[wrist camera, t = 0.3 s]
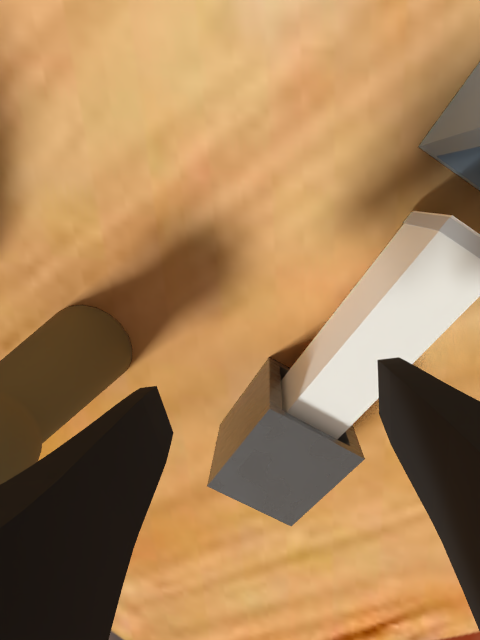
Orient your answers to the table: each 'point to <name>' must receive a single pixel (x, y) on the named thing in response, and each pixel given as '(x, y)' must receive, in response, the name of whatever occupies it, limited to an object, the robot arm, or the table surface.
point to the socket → (459, 133)
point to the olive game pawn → (56, 380)
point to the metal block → (277, 453)
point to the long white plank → (385, 320)
